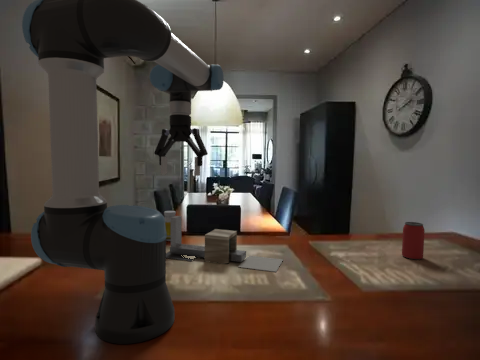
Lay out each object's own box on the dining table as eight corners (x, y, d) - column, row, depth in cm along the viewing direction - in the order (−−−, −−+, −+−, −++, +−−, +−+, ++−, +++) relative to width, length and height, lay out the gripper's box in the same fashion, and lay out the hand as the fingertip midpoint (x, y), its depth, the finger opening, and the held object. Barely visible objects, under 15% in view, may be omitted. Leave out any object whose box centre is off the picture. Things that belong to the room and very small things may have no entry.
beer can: (417, 254, 112) (419, 221, 111) (426, 260, 106) (428, 225, 105) (398, 254, 113) (400, 221, 112) (406, 259, 106) (408, 225, 105)
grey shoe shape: (191, 261, 101) (191, 260, 101) (159, 257, 105) (159, 256, 105) (206, 251, 113) (206, 250, 113) (177, 248, 117) (177, 247, 117)
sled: (241, 262, 100) (242, 223, 99) (169, 253, 108) (169, 217, 107) (246, 257, 104) (246, 220, 104) (177, 249, 113) (177, 215, 112)
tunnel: (227, 264, 99) (227, 237, 99) (204, 261, 102) (204, 234, 101) (236, 256, 108) (236, 231, 107) (215, 253, 110) (215, 229, 109)
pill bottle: (175, 241, 125) (176, 213, 125) (160, 241, 126) (159, 212, 125) (179, 237, 132) (179, 210, 131) (164, 237, 132) (164, 210, 131)
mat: (276, 272, 93) (276, 271, 93) (237, 267, 96) (237, 266, 96) (283, 260, 104) (283, 259, 104) (248, 256, 108) (249, 255, 108)
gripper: (217, 115, 110) (216, 175, 111) (156, 117, 118) (156, 173, 119) (207, 112, 103) (207, 176, 104) (144, 114, 111) (144, 174, 112)
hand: (180, 175), depth 112 cm, fingers open, 13 cm apart
